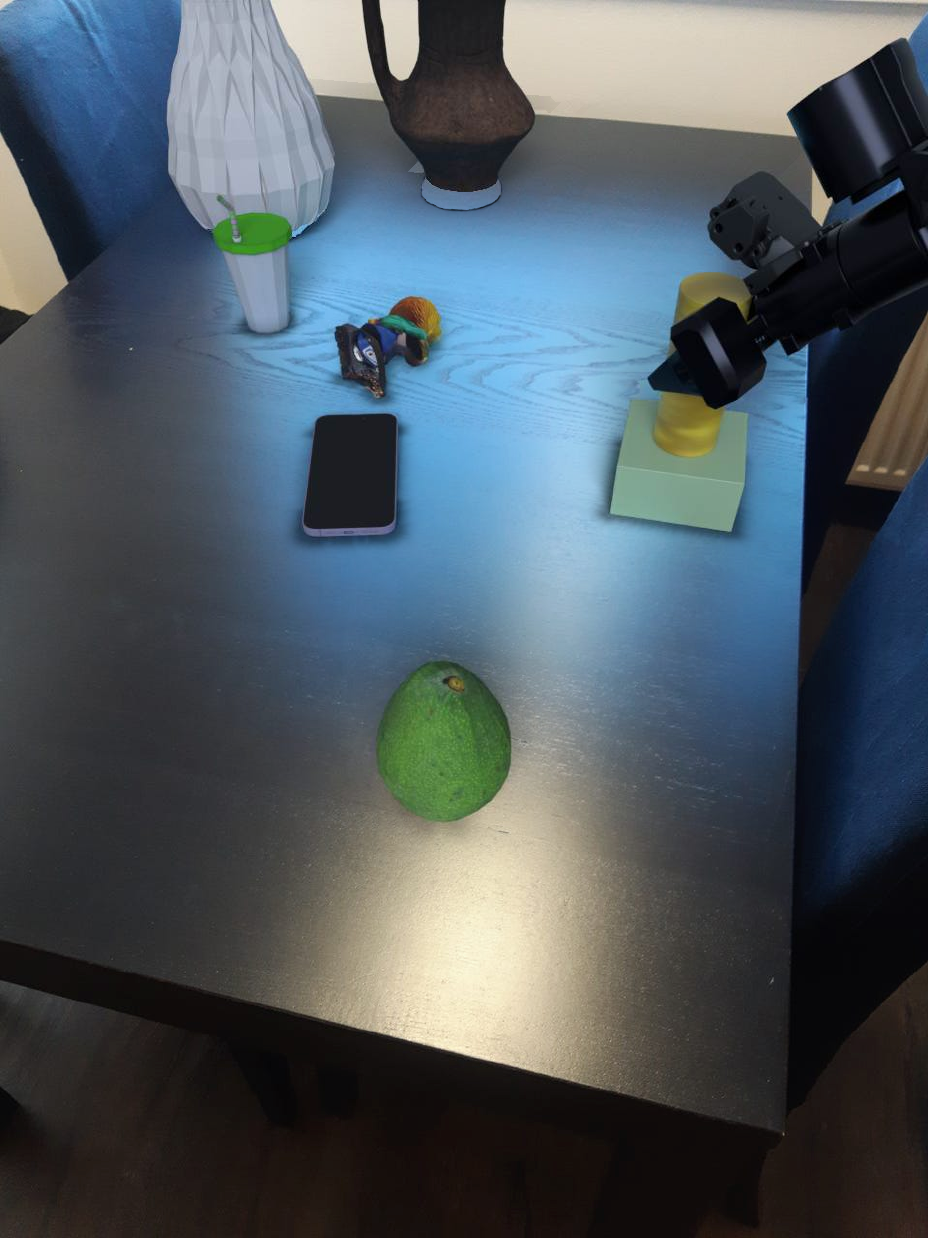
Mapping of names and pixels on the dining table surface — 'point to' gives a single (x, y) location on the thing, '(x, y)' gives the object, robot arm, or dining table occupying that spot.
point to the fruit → (443, 743)
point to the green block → (680, 474)
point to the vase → (244, 118)
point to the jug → (453, 92)
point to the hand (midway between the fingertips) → (684, 359)
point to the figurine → (388, 342)
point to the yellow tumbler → (687, 417)
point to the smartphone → (352, 476)
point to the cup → (258, 265)
